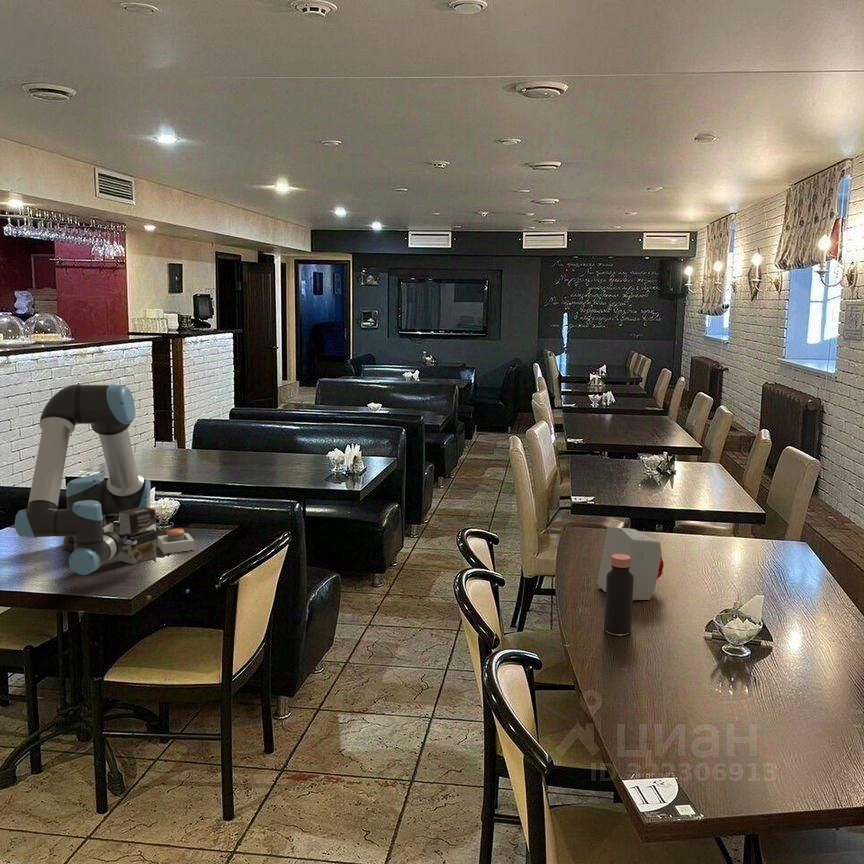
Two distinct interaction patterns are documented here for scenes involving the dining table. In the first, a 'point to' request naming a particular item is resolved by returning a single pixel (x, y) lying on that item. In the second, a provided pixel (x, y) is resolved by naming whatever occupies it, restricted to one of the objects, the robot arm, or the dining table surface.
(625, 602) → the bottle
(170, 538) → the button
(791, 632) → the dining table surface
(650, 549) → the electrical switch box
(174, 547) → the breaker housing
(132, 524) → the coffee box
